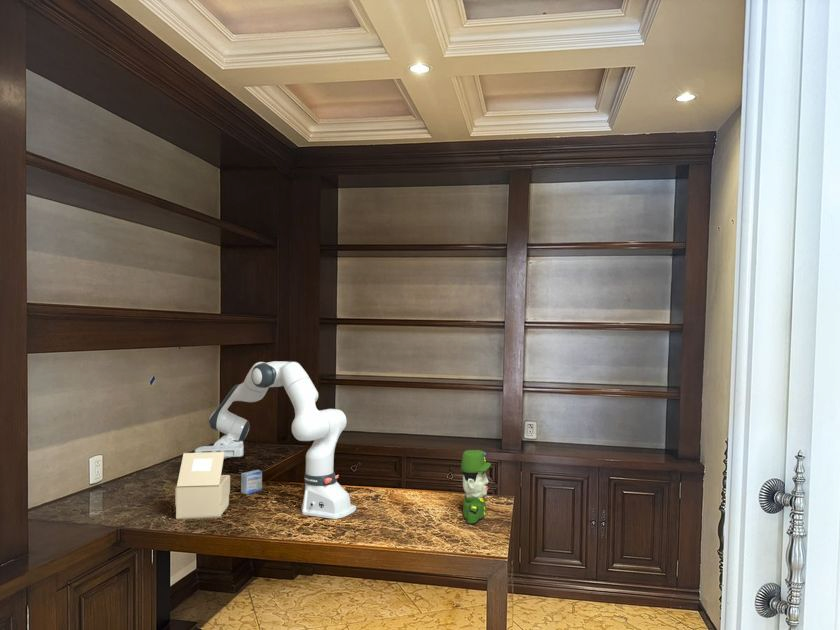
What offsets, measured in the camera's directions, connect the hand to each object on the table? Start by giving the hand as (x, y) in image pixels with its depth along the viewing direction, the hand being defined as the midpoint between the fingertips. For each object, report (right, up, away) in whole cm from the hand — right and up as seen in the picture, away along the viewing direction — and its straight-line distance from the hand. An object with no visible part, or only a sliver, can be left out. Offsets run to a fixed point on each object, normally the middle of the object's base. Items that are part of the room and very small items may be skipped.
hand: (215, 456), depth 222 cm
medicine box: (+13, -18, +9) cm, 24 cm away
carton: (+2, -18, -16) cm, 24 cm away
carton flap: (+2, 0, -19) cm, 19 cm away
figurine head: (+109, -18, -18) cm, 112 cm away
